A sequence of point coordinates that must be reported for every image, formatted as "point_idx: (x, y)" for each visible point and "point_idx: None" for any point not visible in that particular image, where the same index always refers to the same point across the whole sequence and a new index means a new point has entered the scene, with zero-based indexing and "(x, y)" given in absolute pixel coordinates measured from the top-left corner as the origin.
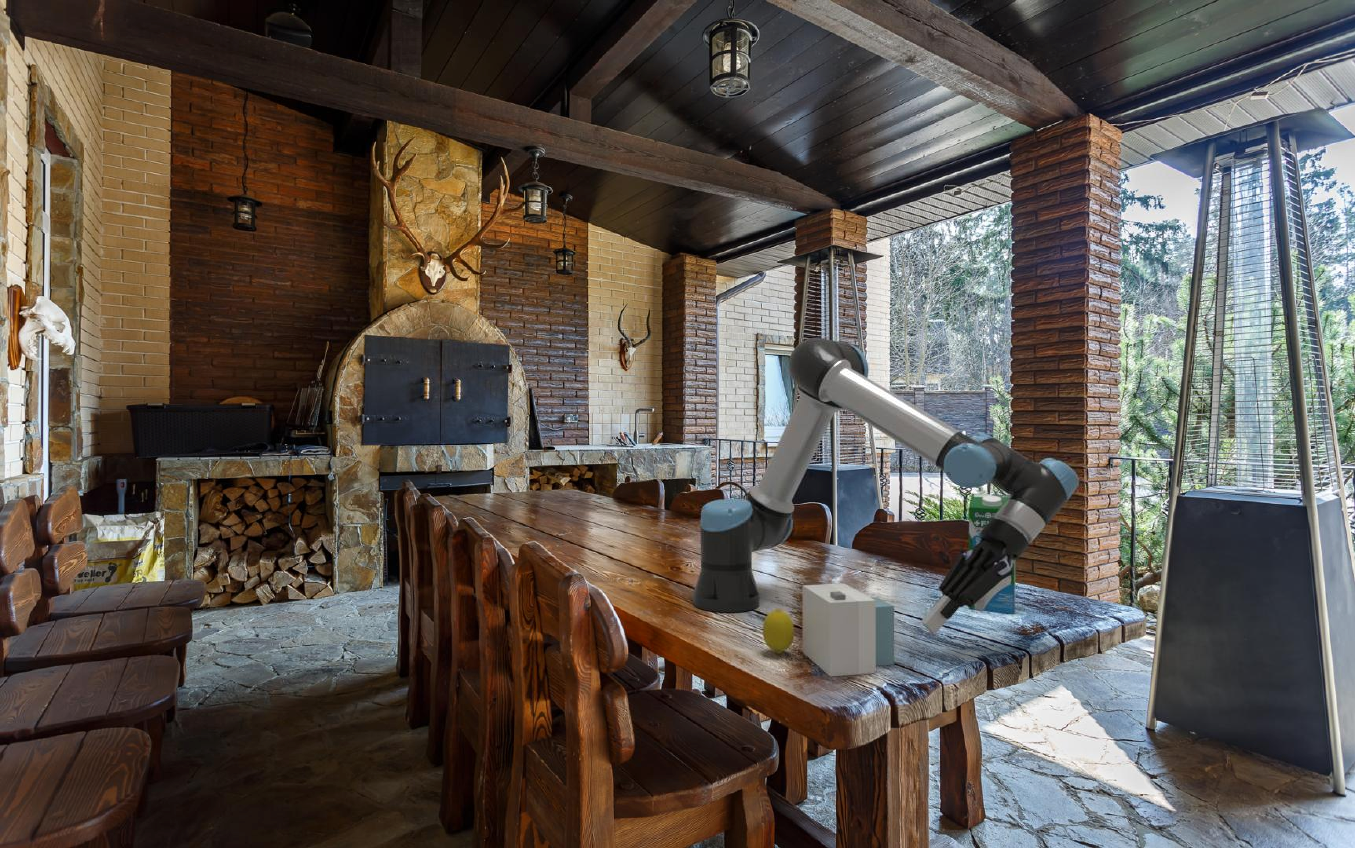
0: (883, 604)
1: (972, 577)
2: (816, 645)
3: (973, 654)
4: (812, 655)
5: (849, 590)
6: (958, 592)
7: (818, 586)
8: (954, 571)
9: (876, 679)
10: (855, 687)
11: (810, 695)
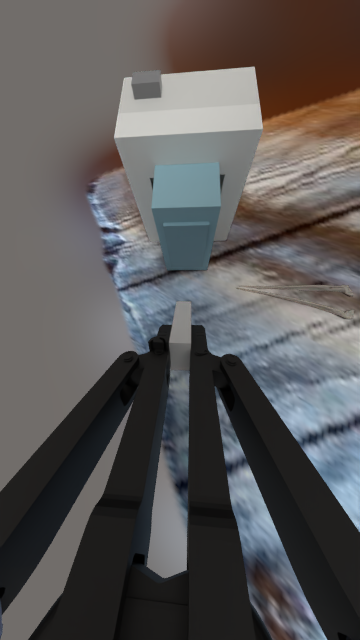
0: (166, 195)
1: (123, 436)
2: None
3: (176, 387)
4: None
5: (198, 121)
6: (146, 361)
7: (241, 85)
8: (262, 442)
9: (135, 236)
10: (124, 212)
11: (120, 177)
